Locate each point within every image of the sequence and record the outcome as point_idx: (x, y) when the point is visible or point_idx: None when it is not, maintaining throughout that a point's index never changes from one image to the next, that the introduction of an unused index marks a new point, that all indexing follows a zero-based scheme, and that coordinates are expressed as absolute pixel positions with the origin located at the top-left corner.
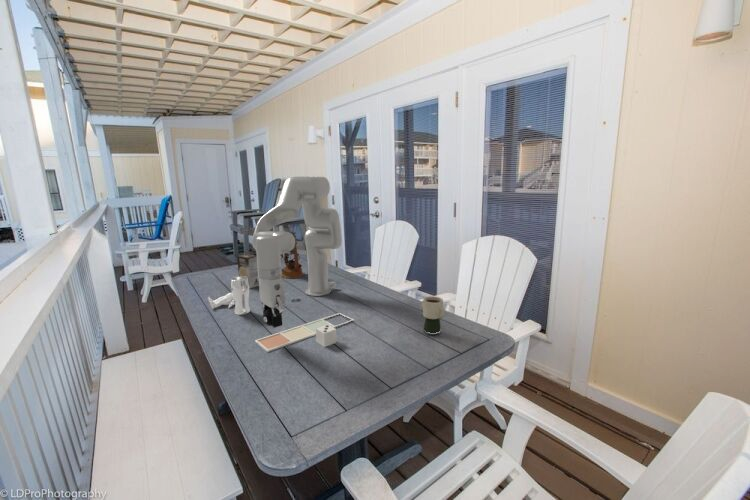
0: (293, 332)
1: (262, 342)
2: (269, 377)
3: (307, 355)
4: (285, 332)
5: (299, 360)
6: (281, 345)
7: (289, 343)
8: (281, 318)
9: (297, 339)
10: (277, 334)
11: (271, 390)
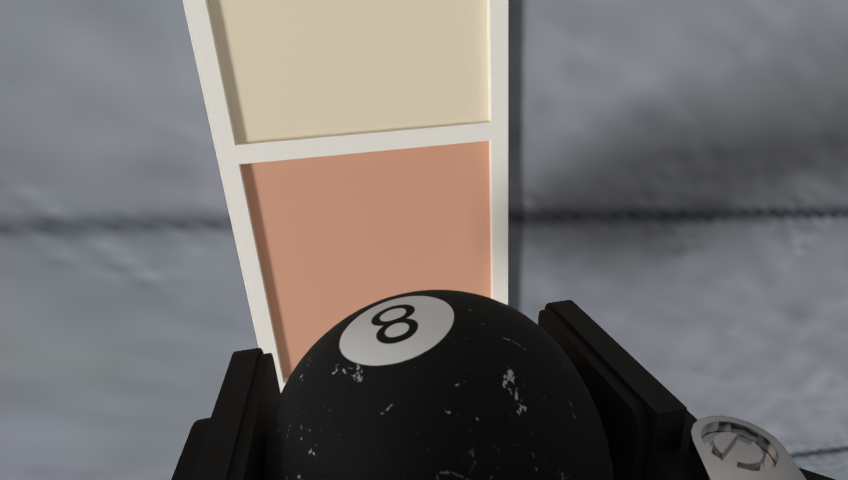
0: (291, 10)
1: None
2: (755, 403)
3: (751, 121)
4: (240, 92)
5: (756, 202)
6: (506, 243)
7: (504, 164)
8: (629, 363)
9: (499, 68)
10: (246, 188)
11: (842, 418)
